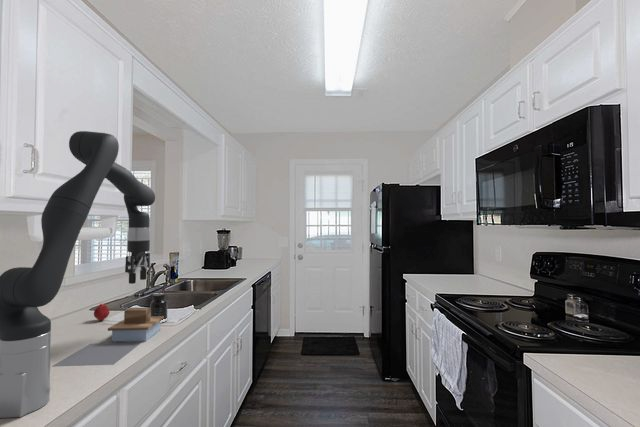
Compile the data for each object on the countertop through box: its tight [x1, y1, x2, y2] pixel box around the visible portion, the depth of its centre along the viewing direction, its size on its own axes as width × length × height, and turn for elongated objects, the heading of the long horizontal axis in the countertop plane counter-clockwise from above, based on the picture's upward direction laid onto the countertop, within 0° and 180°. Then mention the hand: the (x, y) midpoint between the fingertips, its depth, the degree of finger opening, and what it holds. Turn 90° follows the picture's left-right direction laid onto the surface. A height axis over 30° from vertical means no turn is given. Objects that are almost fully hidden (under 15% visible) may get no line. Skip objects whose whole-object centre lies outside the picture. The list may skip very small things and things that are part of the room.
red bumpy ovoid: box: [93, 302, 110, 322], centre depth 144 cm, size 6×6×8 cm
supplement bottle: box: [149, 293, 168, 320], centre depth 143 cm, size 7×7×12 cm
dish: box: [111, 321, 161, 343], centre depth 124 cm, size 12×12×5 cm
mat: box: [52, 342, 142, 367], centre depth 107 cm, size 18×18×1 cm
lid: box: [107, 307, 164, 332], centre depth 124 cm, size 14×14×6 cm
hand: (137, 281), depth 124 cm, fingers open, 8 cm apart
